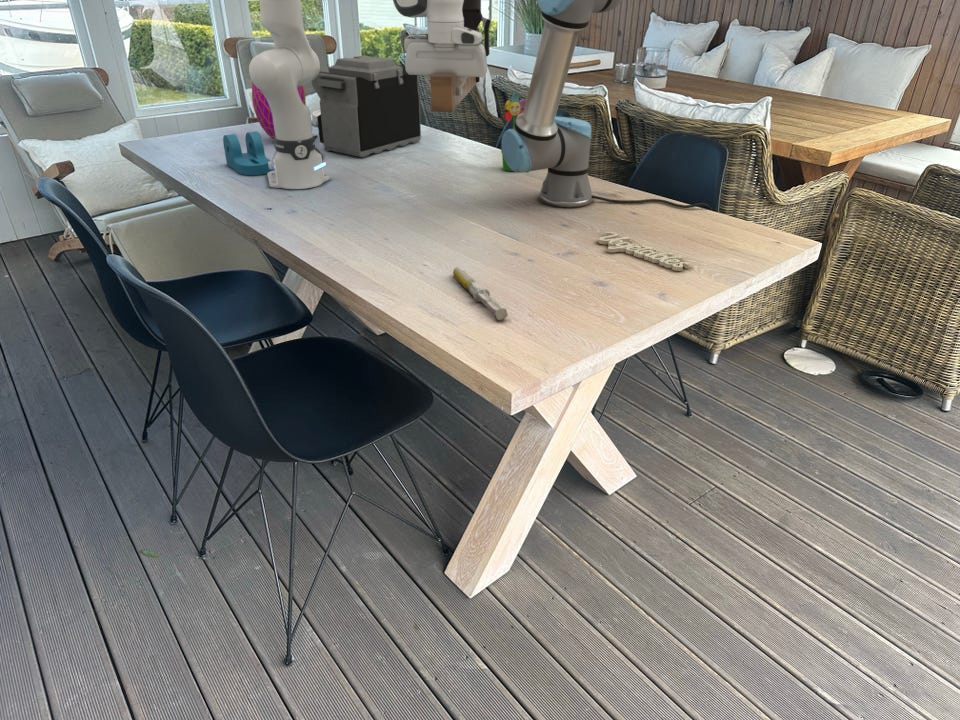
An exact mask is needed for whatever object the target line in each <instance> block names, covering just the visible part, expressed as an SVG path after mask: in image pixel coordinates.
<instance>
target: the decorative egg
mask: <svg viewBox="0 0 960 720" xmlns="http://www.w3.org/2000/svg"><path fill="white" fill-rule="evenodd" d="M297 88H298V93H299V96H300V98H301V100H302V102H303V104H305V105H306V104H307V103H306V102H307V101H306V99H307V97H306V93H305V88H304V85H302V86H299V87H297ZM251 101H252V107H253V110H254V114H255V116H256V118H257V121H258V123H259V125H260V127H261V128H262V130H263V131H264V133H266V135H267V136H268V137H270V138H271V139H273V140H275V137H276V136H275V130H274V123H273V117H272V112H271V109H270V106H269V104H268V101H267V99H266V97H265V95H264V94H263V92H262V91H261V90H260V89H259V88H257V87H256V86H255V85H254V83H253V82H252V81H251ZM306 106H307V105H306Z"/></svg>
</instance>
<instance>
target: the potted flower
mask: <svg viewBox="0 0 960 720" xmlns="http://www.w3.org/2000/svg"><path fill="white" fill-rule="evenodd" d="M526 99H527V98H525V99H524V98H523V99H520V93H519V92H518V91H516V92H514V93H513V94H512V95H511V97H510V100H507V101H506V102H505V103H504V108H503V109H504V110H505V113H504V119H505V122H507V123H509V122H510V121H511V120H512V129H513V128H514V124H515V120H516V117H517V116H518V115H520V114H521V113H523V111H524V107H525V103H526ZM500 151H501V157H502V169H503V170H504V171H507V172H514V171H513V170H511V169H510V168H509V166H508V165H507V163H506V161H505V159H504V156H503V153H502V148H501V149H500Z"/></svg>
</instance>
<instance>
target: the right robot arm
mask: <svg viewBox="0 0 960 720" xmlns="http://www.w3.org/2000/svg"><path fill="white" fill-rule="evenodd" d="M623 1H624V0H536V3H537V6H538V8H539V9H540V16H541V18H542V20H543V22H544V27H543V30H542V35H541V38H540V42H539V46H538V51H537V55H536V59H535V62H534V67H533V71H532V75H531V78H530V79H531V80H530V83H529V88H528V92H527V95H526V98H525V99H526V103H525V107H524V108H523V113H521V114H520V115H518V116H515V124H514V128H513V127H512V128H509V129H506V130H505V131H504V132H503V134H502V136H501V149H502V153H503V156H504V159H505V161H506V163H507V165H508V166H509V168H510V169H511V170H513V171H512V172H514V173H530V172H534V171H541V170H546V169H547V173H546V176H545V178H544V180H543V182H542V185H541V186H542V187H541V189H540V192H539V200H540V202H542V203H543V204H546V205H549V206H553V207H558V208H559V207H560V208H580V207H584V206H588V205H589V204H591V203H592V199H594V200H600V201H604V202H607V203H616V204H643V203H661V204H662V203H663V204H666V205H669V206H671V207H675V208H680V209H681V208H682V209H691V208H697V207H705V208H707V209H708V210H710V211H711V210H713V208H712V206H710V205H709V204H708V203H706V202H705V203H704V202H699V203H693V204H681V203H680V204H679V203H677V202H673V201H669V200H665V199H659V198H648V199H632V200H631V199H627V200H625V199H624V200H623V199H612V198H606V197H602V196H598V195H593V193H592V188H591V184H590V179H589V165H590V164H589V163H590V153H591V143H592V137H593V136H592V125H591V124H590V123H589V122H588V121H586V120H583V119H579V118H574V117H567V116H557V112H558V109H559V105H560V102H561V98H562V95H563V92H564V88H565V84H566V81H567V77H568V74H569V70H570V66H571V63H572V60H573V57H574V54H575V53H574V52H575V50H576V45H577V42H578V39H579V35H580V32H582V31H584V30H586V29H587V28H588V26H589V23H590V20H591V16H592V14H599V13H606V12H607V13H608V12H611V11H612V10H614V9H616V8H617V7H618V6H620V4H621V3H622V2H623ZM462 13H463V18H464V27H466V28H469V29H472V30H474V31H477V32H479V29H478V27H479V25H480V24H481V22H482V26H483V27H484V29H483V32H484V33H483V35H484V36H483V38H484V43H483V46H484V48H485V52H486V57H488V56H489V55H490V27H491V24H492V19H491V18H486V17H484V16H483V14H482V0H464V3H463V7H462ZM480 78H481V77H476V82H477V83H480V80H481V79H480ZM502 153H501V154H502Z"/></svg>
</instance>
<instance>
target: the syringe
mask: <svg viewBox="0 0 960 720" xmlns="http://www.w3.org/2000/svg"><path fill="white" fill-rule="evenodd" d="M452 274H453V277H454V279H455V280H457V281H458V282H459V283H460V285H462V287H464V289H466V290H467V291H468V293H470V295H471V296H472V298H473V300H474V302H477V303H478V302H480V303H482V304H483V305H484V306H485V307H486V308H487V309H488V310H489V311H490V312H491V313H492V314H493V315H494V316H495V317H496V320H497V321H503V320H504V319H506V318H507V317H509V314H508V310H507V308H506V307H502V306H501V305H500V303H498V302H497V301H496V300H494V299H493V298H492V297H491V296H490V295H491V293H490V290H488V289H486V288H483V287H482V286H481V285H480V284H479V283H478V282H477V281H476V280H474V278H473V277H471V275H469V274H468V273H467V272H466V270H465V269H464V268H463V267H462V266H456V267H454V268H453V271H452Z"/></svg>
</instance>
